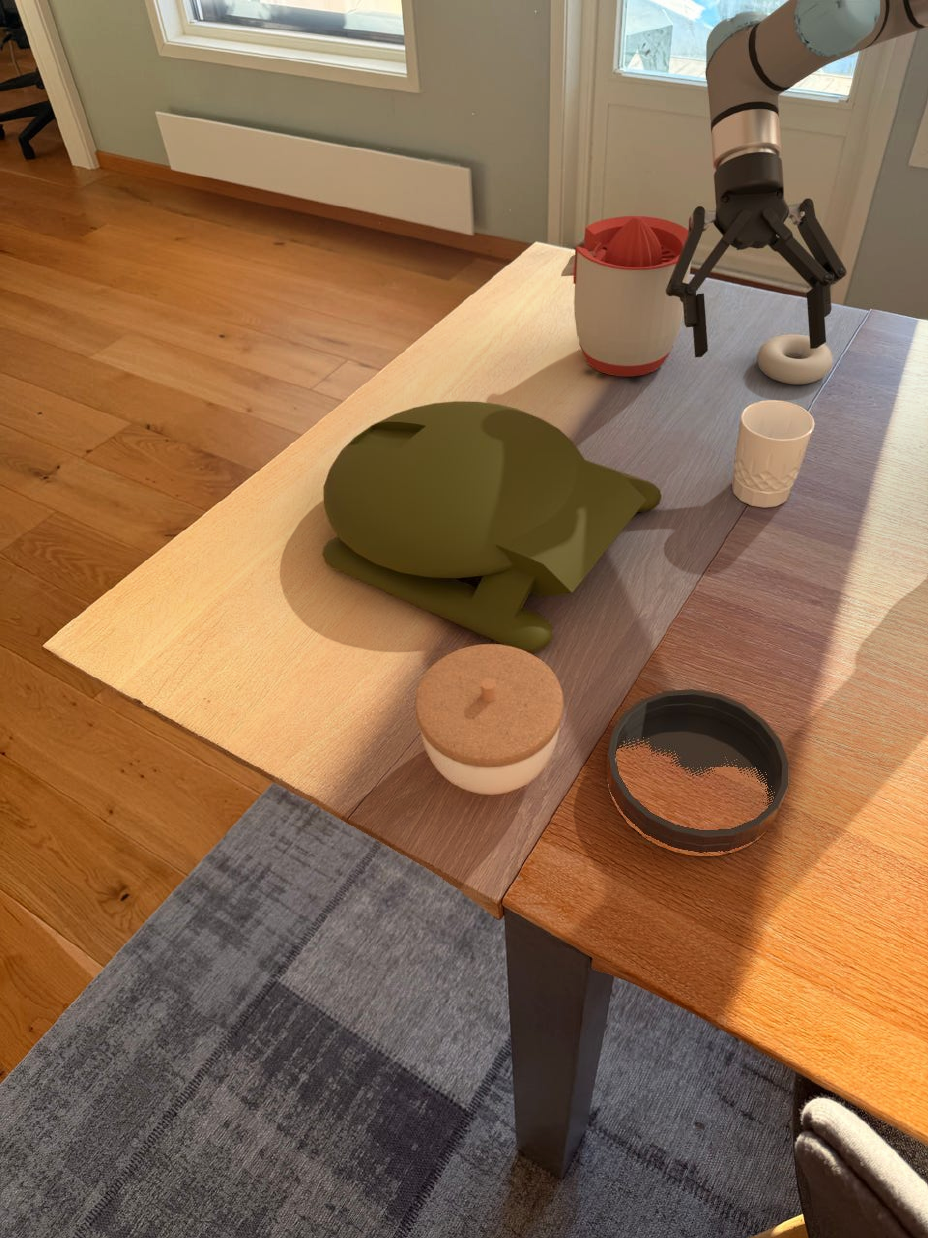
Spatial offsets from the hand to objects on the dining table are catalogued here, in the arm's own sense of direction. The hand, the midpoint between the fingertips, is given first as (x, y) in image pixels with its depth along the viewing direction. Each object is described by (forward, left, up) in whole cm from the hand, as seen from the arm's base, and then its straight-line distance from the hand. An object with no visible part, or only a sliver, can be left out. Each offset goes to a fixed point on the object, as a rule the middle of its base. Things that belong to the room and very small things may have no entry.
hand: (759, 350), depth 105 cm
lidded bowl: (+19, +53, -14) cm, 58 cm away
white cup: (-3, +8, -14) cm, 16 cm away
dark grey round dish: (+1, +51, -13) cm, 53 cm away
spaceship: (+29, +21, -14) cm, 39 cm away
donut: (-6, -20, -14) cm, 25 cm away
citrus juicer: (+18, -19, -14) cm, 29 cm away
